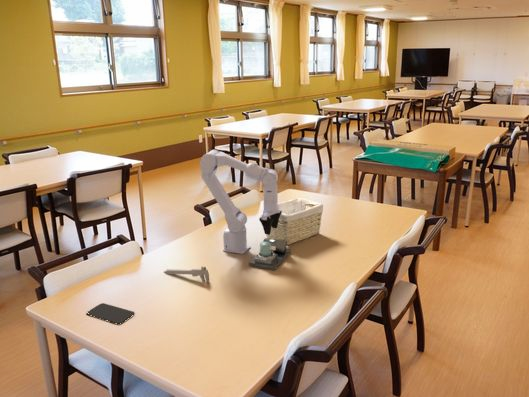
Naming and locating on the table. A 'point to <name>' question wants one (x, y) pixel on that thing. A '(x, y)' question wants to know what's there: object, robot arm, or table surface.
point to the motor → (272, 255)
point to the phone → (111, 313)
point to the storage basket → (297, 220)
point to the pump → (266, 249)
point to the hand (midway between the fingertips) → (271, 230)
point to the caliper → (192, 273)
